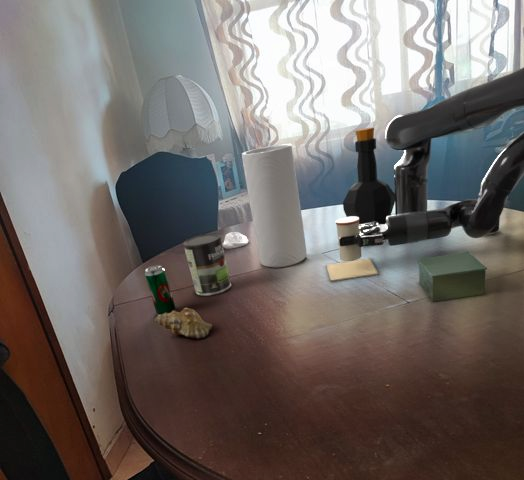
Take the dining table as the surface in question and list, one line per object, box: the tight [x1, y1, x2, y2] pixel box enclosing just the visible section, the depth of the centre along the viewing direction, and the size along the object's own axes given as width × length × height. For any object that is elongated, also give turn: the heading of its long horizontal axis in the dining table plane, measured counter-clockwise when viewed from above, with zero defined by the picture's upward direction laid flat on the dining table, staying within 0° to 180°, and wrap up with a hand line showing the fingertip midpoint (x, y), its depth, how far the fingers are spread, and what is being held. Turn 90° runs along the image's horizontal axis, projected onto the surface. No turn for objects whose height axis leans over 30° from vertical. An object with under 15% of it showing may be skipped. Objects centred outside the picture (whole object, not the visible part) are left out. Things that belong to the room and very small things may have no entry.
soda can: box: [144, 264, 177, 315], centre depth 117 cm, size 5×5×12 cm
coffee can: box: [182, 233, 232, 297], centre depth 126 cm, size 10×10×14 cm
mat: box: [326, 258, 379, 282], centre depth 123 cm, size 12×12×1 cm
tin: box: [417, 251, 488, 303], centre depth 101 cm, size 11×11×6 cm
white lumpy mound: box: [222, 231, 249, 249], centre depth 163 cm, size 10×4×10 cm
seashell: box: [154, 307, 213, 339], centre depth 105 cm, size 9×8×10 cm
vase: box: [241, 143, 307, 269], centre depth 132 cm, size 14×14×32 cm
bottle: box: [342, 126, 395, 224], centre depth 150 cm, size 16×16×30 cm
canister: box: [335, 216, 363, 262], centre depth 119 cm, size 6×6×10 cm
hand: (339, 238), depth 119 cm, fingers closed on canister, 5 cm apart
